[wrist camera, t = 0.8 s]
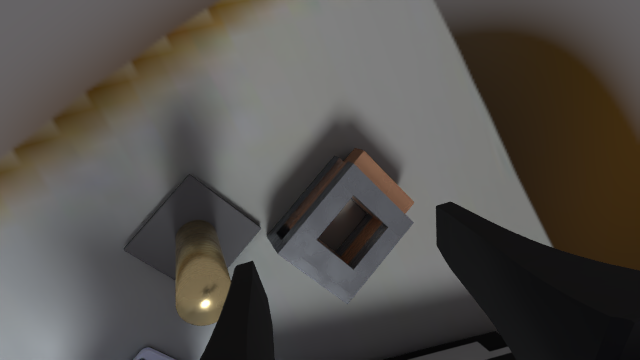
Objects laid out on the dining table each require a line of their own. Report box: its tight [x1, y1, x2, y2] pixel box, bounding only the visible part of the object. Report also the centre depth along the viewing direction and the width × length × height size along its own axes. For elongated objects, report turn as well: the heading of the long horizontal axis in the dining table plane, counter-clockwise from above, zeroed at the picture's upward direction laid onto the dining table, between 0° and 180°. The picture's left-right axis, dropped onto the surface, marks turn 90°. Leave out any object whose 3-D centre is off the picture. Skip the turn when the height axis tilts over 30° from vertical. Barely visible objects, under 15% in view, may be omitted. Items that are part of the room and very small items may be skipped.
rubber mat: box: [124, 174, 261, 280], centre depth 28 cm, size 7×7×1 cm
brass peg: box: [176, 220, 231, 326], centre depth 23 cm, size 3×3×9 cm
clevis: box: [267, 148, 414, 304], centre depth 30 cm, size 10×8×4 cm
